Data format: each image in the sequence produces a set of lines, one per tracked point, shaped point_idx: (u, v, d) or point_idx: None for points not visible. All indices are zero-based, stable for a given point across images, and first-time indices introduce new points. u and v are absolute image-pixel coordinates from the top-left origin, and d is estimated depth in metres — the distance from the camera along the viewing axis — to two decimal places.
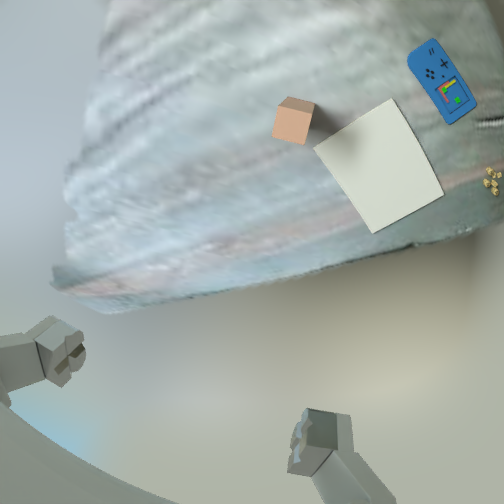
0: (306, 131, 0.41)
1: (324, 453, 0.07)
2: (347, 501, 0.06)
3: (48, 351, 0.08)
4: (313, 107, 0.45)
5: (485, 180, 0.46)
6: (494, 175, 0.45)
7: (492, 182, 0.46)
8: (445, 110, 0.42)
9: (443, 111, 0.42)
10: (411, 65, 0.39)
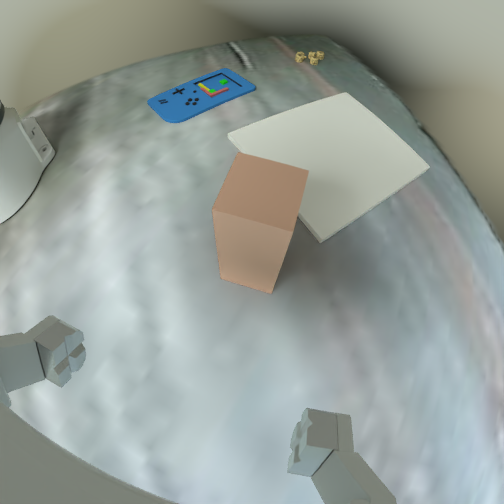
0: (277, 163, 0.20)
1: (324, 453, 0.07)
2: (347, 501, 0.06)
3: (48, 351, 0.08)
4: None
5: (311, 61, 0.46)
6: None
7: (311, 57, 0.47)
8: (238, 89, 0.41)
9: (240, 91, 0.41)
10: (180, 117, 0.38)
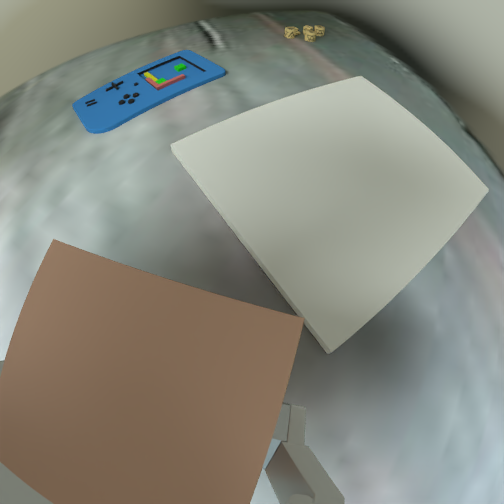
0: (170, 291, 0.05)
1: (272, 444, 0.07)
2: None
3: None
4: None
5: (306, 36, 0.32)
6: (295, 31, 0.33)
7: None
8: (199, 75, 0.26)
9: (202, 77, 0.26)
10: (107, 124, 0.23)
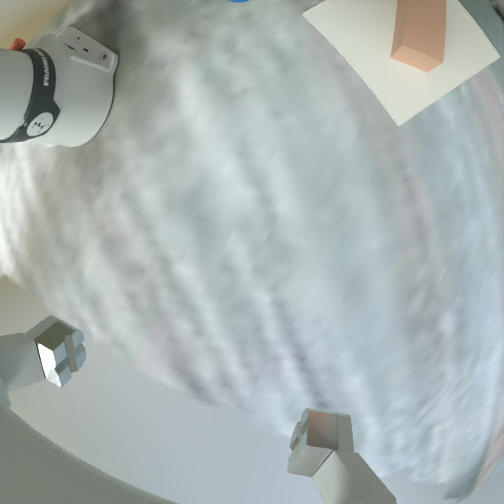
0: None
1: (324, 453, 0.07)
2: (347, 501, 0.06)
3: (48, 351, 0.08)
4: (395, 24, 0.25)
5: None
6: None
7: None
8: None
9: None
10: None
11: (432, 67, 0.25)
